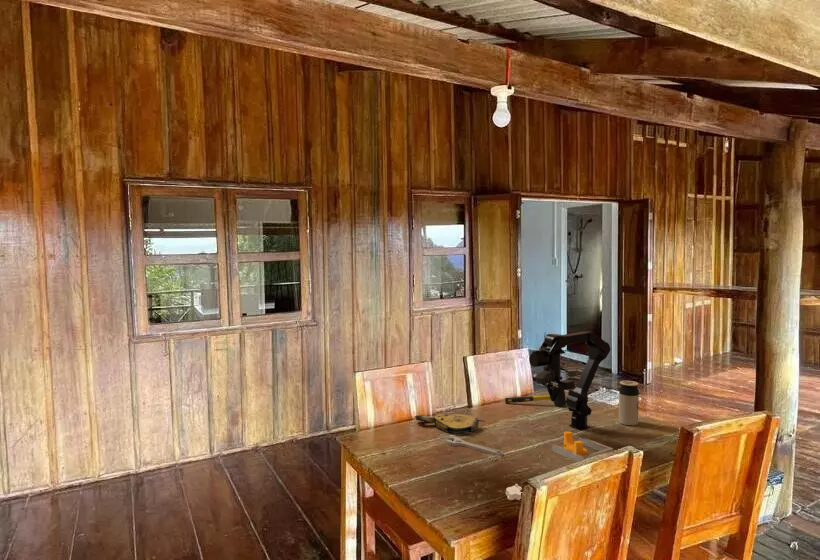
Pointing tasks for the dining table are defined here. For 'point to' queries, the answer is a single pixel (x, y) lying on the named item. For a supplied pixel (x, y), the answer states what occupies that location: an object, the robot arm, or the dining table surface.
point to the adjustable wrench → (472, 446)
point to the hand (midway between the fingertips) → (553, 401)
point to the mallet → (558, 402)
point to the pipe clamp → (574, 444)
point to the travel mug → (628, 403)
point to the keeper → (578, 457)
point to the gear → (514, 492)
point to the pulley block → (452, 422)
